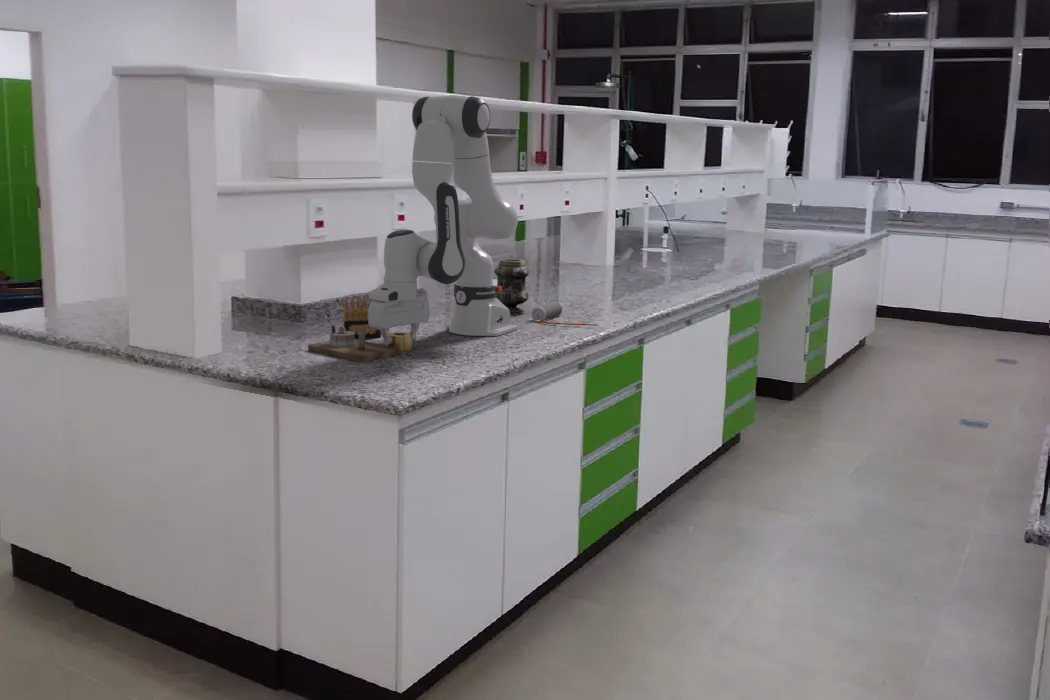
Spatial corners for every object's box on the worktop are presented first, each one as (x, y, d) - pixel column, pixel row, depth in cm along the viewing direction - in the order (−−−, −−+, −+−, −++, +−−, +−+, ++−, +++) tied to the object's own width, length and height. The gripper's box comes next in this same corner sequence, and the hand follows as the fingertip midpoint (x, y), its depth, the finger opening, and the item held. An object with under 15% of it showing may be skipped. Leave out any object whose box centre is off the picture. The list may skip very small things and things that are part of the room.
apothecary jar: (531, 310, 323) (533, 258, 319) (523, 316, 311) (525, 262, 307) (497, 308, 325) (499, 256, 321) (488, 313, 314) (489, 260, 310)
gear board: (347, 342, 260) (347, 316, 258) (399, 354, 248) (400, 327, 246) (308, 350, 249) (307, 323, 247) (360, 362, 237) (360, 334, 235)
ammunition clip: (343, 338, 265) (343, 296, 263) (342, 337, 267) (342, 295, 264) (381, 337, 269) (381, 296, 266) (379, 336, 270) (380, 295, 268)
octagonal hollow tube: (399, 345, 259) (399, 331, 258) (415, 348, 255) (416, 334, 255) (383, 348, 254) (383, 334, 253) (399, 352, 251) (399, 337, 250)
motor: (524, 321, 301) (527, 306, 300) (553, 312, 321) (556, 298, 319) (590, 342, 292) (593, 326, 291) (615, 331, 312) (619, 316, 310)
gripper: (418, 286, 261) (418, 334, 264) (364, 293, 245) (364, 345, 248) (435, 288, 258) (434, 338, 261) (381, 296, 242) (381, 348, 245)
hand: (399, 341), depth 254 cm, fingers open, 8 cm apart
